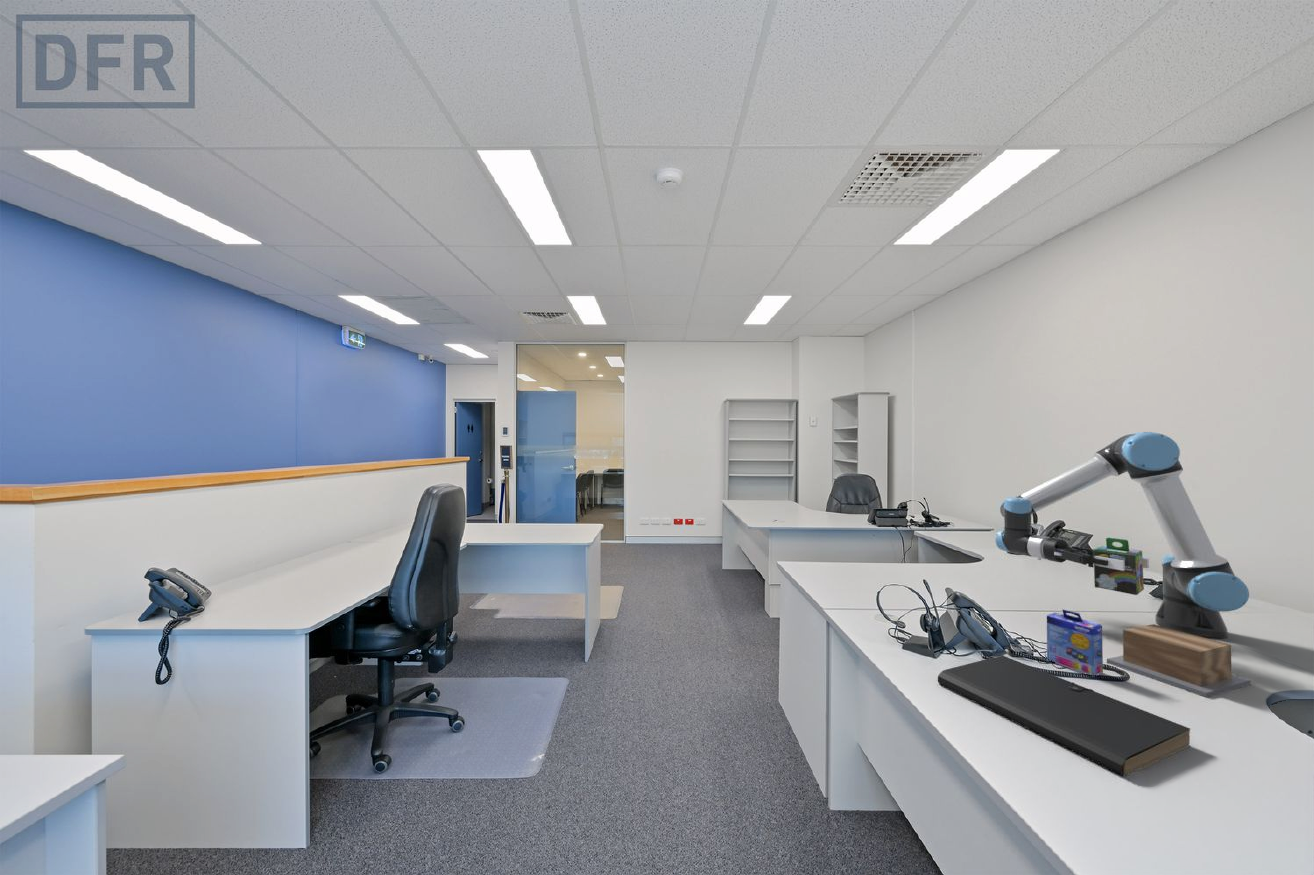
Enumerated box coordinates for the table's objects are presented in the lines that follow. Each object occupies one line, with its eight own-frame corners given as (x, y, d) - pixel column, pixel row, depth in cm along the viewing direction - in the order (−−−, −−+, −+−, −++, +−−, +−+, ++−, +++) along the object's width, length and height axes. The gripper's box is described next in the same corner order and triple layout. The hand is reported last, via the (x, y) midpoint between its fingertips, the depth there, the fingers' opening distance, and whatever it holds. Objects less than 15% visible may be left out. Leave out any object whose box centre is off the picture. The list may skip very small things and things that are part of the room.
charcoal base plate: (1150, 653, 128) (1150, 649, 129) (1250, 684, 112) (1250, 680, 112) (1106, 662, 122) (1106, 658, 122) (1206, 697, 105) (1205, 692, 105)
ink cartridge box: (1045, 661, 122) (1045, 605, 122) (1055, 657, 125) (1055, 603, 125) (1093, 677, 113) (1093, 618, 114) (1103, 673, 116) (1103, 614, 116)
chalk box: (1144, 590, 134) (1143, 539, 134) (1137, 595, 129) (1137, 542, 129) (1100, 582, 142) (1100, 534, 142) (1093, 587, 136) (1092, 537, 137)
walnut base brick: (1154, 653, 126) (1153, 624, 126) (1231, 677, 112) (1231, 644, 113) (1123, 660, 121) (1123, 629, 121) (1200, 686, 108) (1199, 651, 108)
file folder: (1191, 726, 87) (1121, 758, 78) (1191, 748, 87) (1122, 782, 78) (1003, 653, 117) (937, 670, 108) (1003, 670, 117) (937, 688, 108)
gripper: (1071, 558, 156) (1160, 575, 135) (1025, 562, 148) (1111, 580, 128) (1071, 535, 156) (1159, 549, 135) (1024, 538, 149) (1110, 553, 128)
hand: (1136, 564), depth 131 cm, fingers closed on chalk box, 11 cm apart
